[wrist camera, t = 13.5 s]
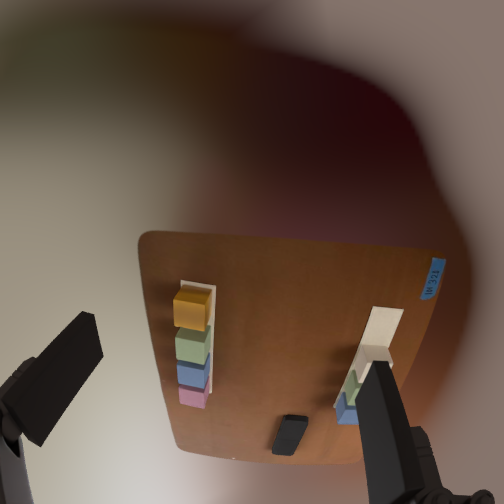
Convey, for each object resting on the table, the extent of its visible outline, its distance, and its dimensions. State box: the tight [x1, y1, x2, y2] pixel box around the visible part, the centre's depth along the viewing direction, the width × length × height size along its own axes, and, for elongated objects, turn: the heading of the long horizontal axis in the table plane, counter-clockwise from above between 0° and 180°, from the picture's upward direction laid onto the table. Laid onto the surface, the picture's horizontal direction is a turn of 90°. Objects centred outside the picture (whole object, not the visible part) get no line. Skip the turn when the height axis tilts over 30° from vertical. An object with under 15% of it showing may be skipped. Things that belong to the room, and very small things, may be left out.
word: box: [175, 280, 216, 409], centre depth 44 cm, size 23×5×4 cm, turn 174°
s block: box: [173, 284, 212, 331], centre depth 41 cm, size 4×4×4 cm
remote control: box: [272, 415, 308, 456], centre depth 53 cm, size 5×2×15 cm
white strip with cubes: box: [333, 306, 404, 424], centre depth 42 cm, size 23×5×4 cm, turn 174°
